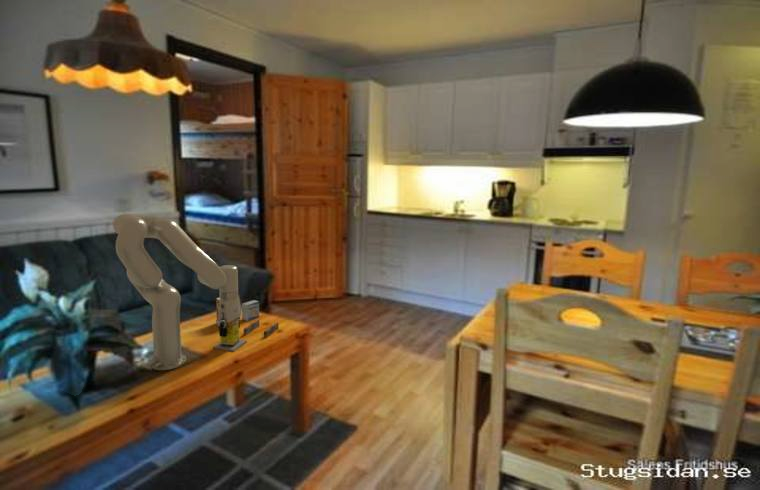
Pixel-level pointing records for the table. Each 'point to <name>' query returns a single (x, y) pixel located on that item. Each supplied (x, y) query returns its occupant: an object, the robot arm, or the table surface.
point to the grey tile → (230, 348)
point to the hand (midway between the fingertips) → (229, 332)
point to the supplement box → (231, 334)
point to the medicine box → (250, 310)
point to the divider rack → (256, 324)
